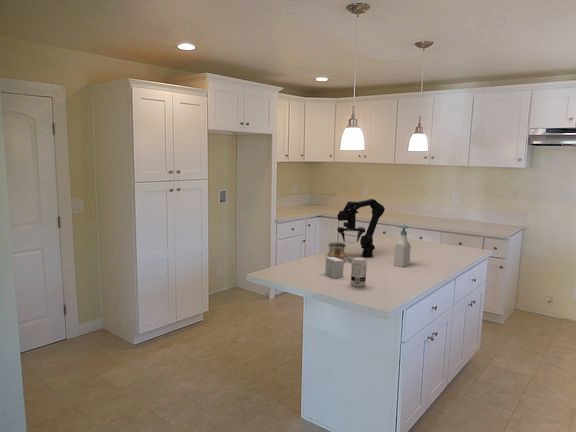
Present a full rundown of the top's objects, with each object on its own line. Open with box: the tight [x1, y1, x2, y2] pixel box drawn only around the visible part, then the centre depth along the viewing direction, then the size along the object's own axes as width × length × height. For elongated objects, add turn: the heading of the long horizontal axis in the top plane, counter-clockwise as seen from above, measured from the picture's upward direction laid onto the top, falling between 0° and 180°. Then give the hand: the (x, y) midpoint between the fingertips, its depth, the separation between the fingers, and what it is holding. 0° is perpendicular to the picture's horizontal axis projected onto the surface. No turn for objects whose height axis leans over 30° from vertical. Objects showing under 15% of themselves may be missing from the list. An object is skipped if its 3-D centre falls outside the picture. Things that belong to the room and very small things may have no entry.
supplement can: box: [350, 257, 368, 288], centre depth 236 cm, size 8×8×15 cm
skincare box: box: [324, 256, 345, 279], centre depth 254 cm, size 10×6×10 cm, turn 30°
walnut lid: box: [328, 247, 348, 258], centre depth 288 cm, size 11×11×5 cm
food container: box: [328, 242, 346, 253], centre depth 303 cm, size 12×6×10 cm, turn 84°
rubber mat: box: [345, 258, 353, 264], centre depth 290 cm, size 12×12×1 cm
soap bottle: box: [393, 224, 412, 268], centre depth 283 cm, size 11×8×27 cm
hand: (350, 241), depth 294 cm, fingers open, 9 cm apart
